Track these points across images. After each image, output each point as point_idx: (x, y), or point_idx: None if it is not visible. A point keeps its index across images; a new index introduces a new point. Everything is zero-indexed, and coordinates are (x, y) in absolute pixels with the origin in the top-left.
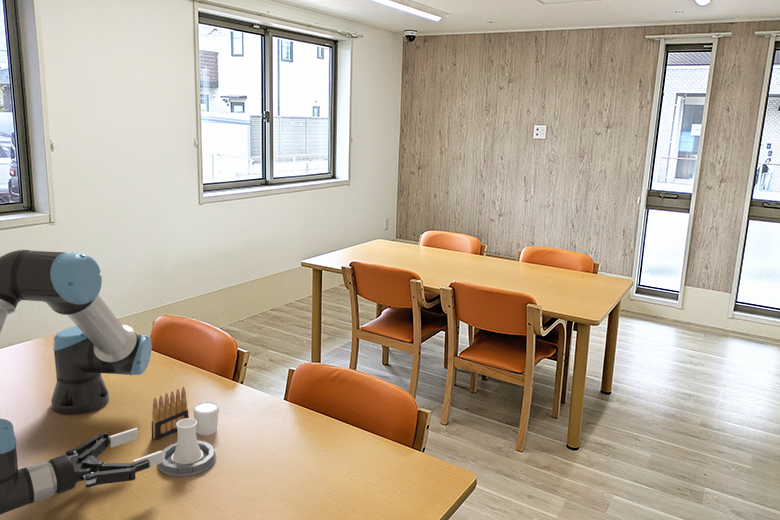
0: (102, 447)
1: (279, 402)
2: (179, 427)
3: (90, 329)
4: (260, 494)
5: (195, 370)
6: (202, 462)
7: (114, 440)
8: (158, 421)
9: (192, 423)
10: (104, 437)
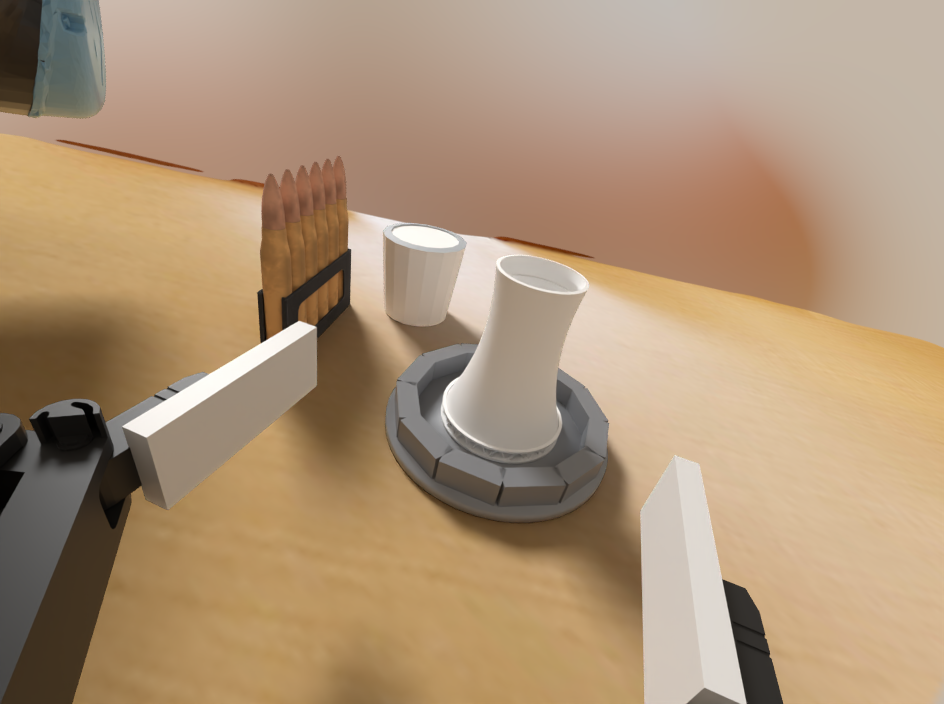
0: (90, 566)
1: (483, 241)
2: (551, 294)
3: None
4: (852, 493)
5: (214, 182)
6: (602, 426)
7: (186, 447)
8: (291, 290)
9: (529, 277)
10: (66, 451)
